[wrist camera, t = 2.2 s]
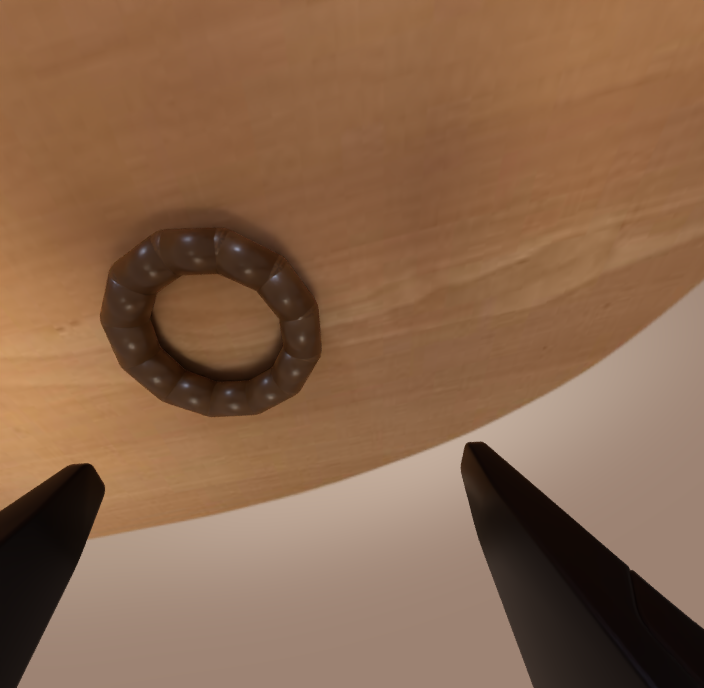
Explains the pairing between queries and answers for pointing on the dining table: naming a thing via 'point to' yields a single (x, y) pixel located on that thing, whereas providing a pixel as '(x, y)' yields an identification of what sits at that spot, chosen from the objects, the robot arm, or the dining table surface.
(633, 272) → the dining table surface
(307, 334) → the ring
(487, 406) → the dining table surface
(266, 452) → the dining table surface
